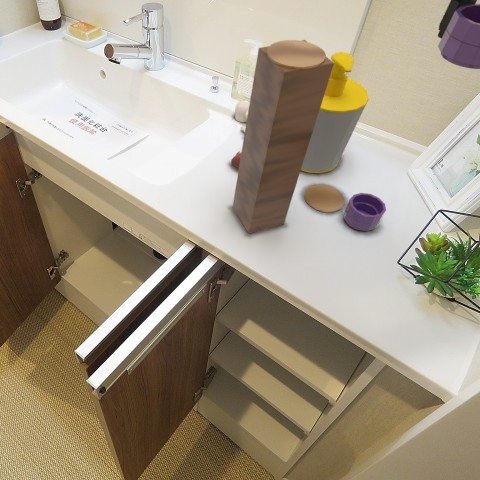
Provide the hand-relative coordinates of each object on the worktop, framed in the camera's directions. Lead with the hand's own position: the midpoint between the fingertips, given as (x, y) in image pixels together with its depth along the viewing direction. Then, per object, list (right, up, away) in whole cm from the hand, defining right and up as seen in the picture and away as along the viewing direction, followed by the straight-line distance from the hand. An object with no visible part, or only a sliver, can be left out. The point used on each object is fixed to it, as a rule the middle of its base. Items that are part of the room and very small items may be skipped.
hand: (471, 50), depth 42 cm
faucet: (-9, +3, +51) cm, 52 cm away
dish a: (0, 0, +1) cm, 1 cm away
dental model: (-13, -3, +44) cm, 46 cm away
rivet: (-11, +2, +49) cm, 50 cm away
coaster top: (-14, +5, +11) cm, 19 cm away
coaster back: (0, -11, +37) cm, 39 cm away
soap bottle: (0, -2, +45) cm, 45 cm away
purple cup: (+5, -16, +33) cm, 37 cm away
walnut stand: (-14, -15, +34) cm, 40 cm away
